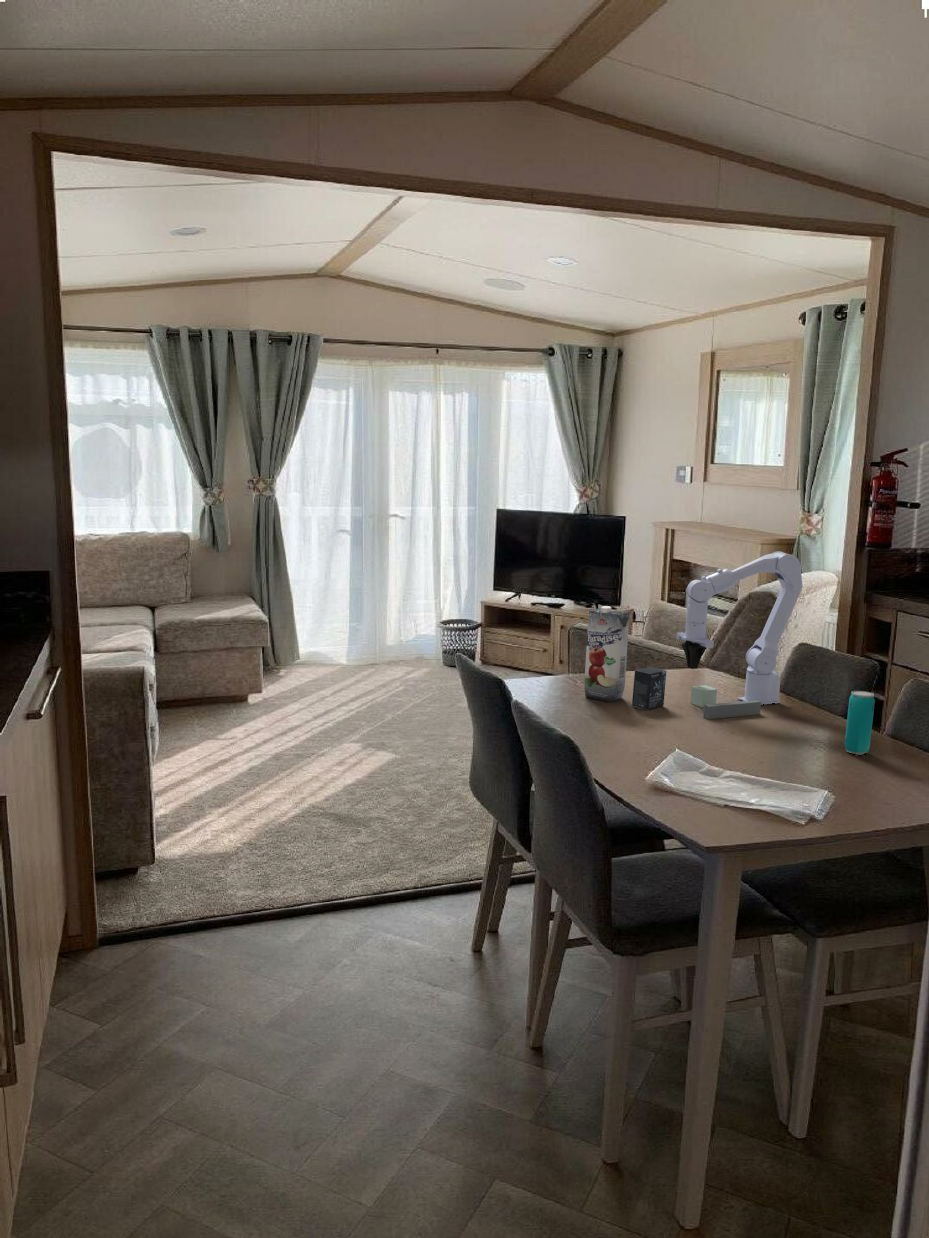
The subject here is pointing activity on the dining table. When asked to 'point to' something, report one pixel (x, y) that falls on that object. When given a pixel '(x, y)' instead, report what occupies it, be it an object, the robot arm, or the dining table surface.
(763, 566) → the robot arm
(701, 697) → the block
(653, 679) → the box
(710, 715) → the board
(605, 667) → the juice carton
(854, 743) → the beverage can
